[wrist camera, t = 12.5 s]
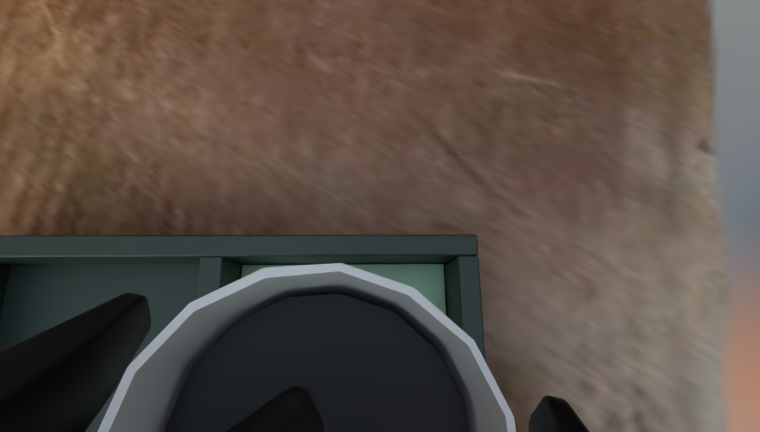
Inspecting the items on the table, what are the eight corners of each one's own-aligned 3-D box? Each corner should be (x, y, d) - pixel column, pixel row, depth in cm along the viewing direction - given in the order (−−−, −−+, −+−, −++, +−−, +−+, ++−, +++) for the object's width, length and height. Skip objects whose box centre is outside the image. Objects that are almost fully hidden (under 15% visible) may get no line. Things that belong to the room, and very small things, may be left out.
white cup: (322, 512, 15) (243, 908, 5) (222, 360, 16) (-5, 441, 6) (460, 391, 16) (615, 520, 6) (358, 257, 17) (353, 185, 7)
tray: (472, 504, 16) (498, 548, 13) (-51, 521, 15) (-153, 573, 12) (458, 246, 18) (477, 233, 15) (5, 248, 17) (-69, 235, 14)
